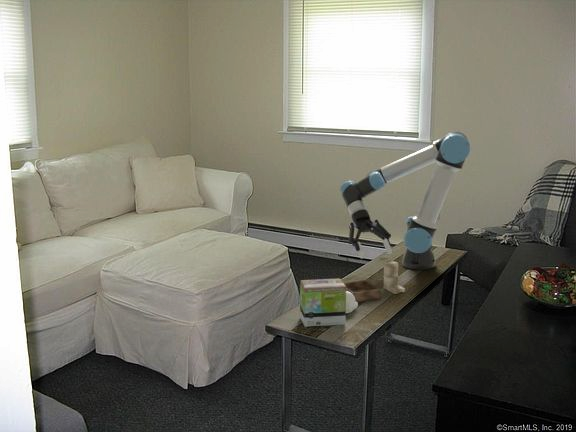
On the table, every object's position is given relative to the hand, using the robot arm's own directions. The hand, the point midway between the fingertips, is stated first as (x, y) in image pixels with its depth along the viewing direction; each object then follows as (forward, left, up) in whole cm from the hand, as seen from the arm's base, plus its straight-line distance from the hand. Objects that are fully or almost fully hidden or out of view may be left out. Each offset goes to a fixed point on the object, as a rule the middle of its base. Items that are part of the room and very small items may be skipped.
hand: (376, 254), depth 278 cm
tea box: (+39, +32, -13) cm, 52 cm away
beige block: (-2, +11, -12) cm, 17 cm away
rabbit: (+29, +25, -13) cm, 41 cm away
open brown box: (+14, +12, -12) cm, 23 cm away
